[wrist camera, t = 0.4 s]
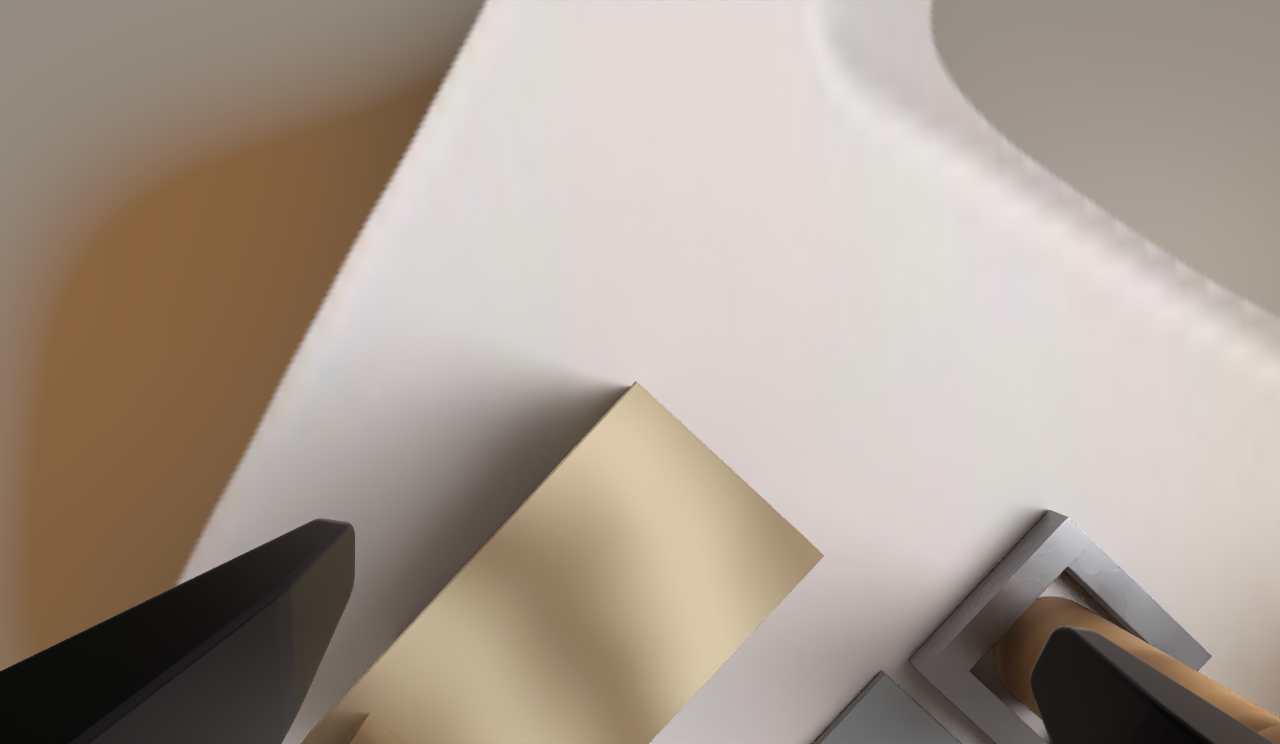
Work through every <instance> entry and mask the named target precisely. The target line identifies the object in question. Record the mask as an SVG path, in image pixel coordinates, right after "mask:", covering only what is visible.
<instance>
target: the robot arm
mask: <svg viewBox="0 0 1280 744" xmlns="http://www.w3.org/2000/svg"><path fill="white" fill-rule="evenodd" d="M354 576H355V532H354V528H353V526H352V525H351V524H350V523H348V522H343V521H336V520H329V519H316V520H313V521H311V522H309V523H307V524H305V525H303V526H300V527H298V528H296V529H294V530H292V531H290V532H288V533H286V534H284V535H282V536H280V537H278V538H276V539H274V540H271V541H269V542H267V543H265V544H263V545H261V546H259V547H257V548H255V549H253V550H251V551H249V552H247V553H245V554H242V555H240V556H238V557H236V558H234V559H232V560H230V561H228V562H226V563H224V564H222V565H220V566H218V567H216V568H213V569H211V570H209V571H207V572H205V573H203V574H201V575H199V576H197V577H195V578H193V579H191V580H189V581H187V582H184V583H182V584H180V585H178V586H176V587H174V588H172V589H170V590H168V591H166V592H164V593H162V594H160V595H158V596H155V597H153V598H151V599H149V600H147V601H145V602H143V603H141V604H139V605H137V606H135V607H133V608H131V609H129V610H126V611H124V612H122V613H120V614H118V615H116V616H114V617H112V618H110V619H108V620H106V621H104V622H102V623H100V624H97V625H96V626H93V627H91V628H89V629H87V630H85V631H83V632H81V633H79V634H77V635H75V636H73V637H71V638H68V639H66V640H64V641H62V642H60V643H58V644H56V645H54V646H52V647H50V648H48V649H46V650H44V651H42V652H39V653H38V654H35V655H33V656H31V657H29V658H27V659H25V660H23V661H21V662H19V663H17V664H15V665H12V666H11V667H8V668H6V669H4V670H2V671H0V744H281V743H282V741H283V740H284V738H285V736H286V734H287V732H288V731H289V729H290V727H291V725H292V723H293V721H294V719H295V718H296V716H297V713H298V711H299V709H300V707H301V705H302V703H303V701H304V699H305V697H306V694H307V692H308V690H309V688H310V685H311V683H312V681H313V679H314V676H315V674H316V672H317V670H318V667H319V665H320V663H321V661H322V658H323V656H324V654H325V652H326V649H327V647H328V645H329V643H330V640H331V638H332V636H333V634H334V631H335V629H336V627H337V625H338V623H339V620H340V618H341V616H342V614H343V611H344V609H345V607H346V605H347V602H348V600H349V598H350V595H351V592H352V589H353V584H354ZM1030 687H1031V692H1032V695H1033V697H1034V700H1035V703H1036V705H1037V708H1038V710H1039V713H1040V715H1041V718H1042V720H1043V723H1044V726H1045V728H1046V731H1047V733H1048V736H1049V738H1050V741H1051V744H1275V743H1273V742H1271V741H1270V740H1268V739H1267V738H1265V737H1263V736H1262V735H1260V734H1259V733H1257V732H1255V731H1254V730H1252V729H1251V728H1249V727H1247V726H1246V725H1244V724H1243V723H1241V722H1239V721H1238V720H1236V719H1235V718H1233V717H1231V716H1230V715H1228V714H1227V713H1225V712H1224V711H1222V710H1220V709H1219V708H1217V707H1216V706H1214V705H1212V704H1211V703H1209V702H1208V701H1206V700H1204V699H1203V698H1201V697H1200V696H1198V695H1196V694H1195V693H1193V692H1192V691H1190V690H1188V689H1187V688H1185V687H1184V686H1182V685H1180V684H1179V683H1177V682H1176V681H1174V680H1172V679H1171V678H1169V677H1168V676H1166V675H1164V674H1163V673H1161V672H1160V671H1158V670H1157V669H1155V668H1153V667H1152V666H1150V665H1149V664H1147V663H1145V662H1144V661H1142V660H1141V659H1139V658H1137V657H1136V656H1134V655H1133V654H1131V653H1129V652H1128V651H1126V650H1125V649H1123V648H1121V647H1120V646H1118V645H1117V644H1115V643H1113V642H1112V641H1110V640H1109V639H1107V638H1105V637H1104V636H1102V635H1101V634H1099V633H1097V632H1095V631H1093V630H1090V629H1085V628H1078V627H1071V626H1059V627H1057V628H1055V629H1054V630H1053V631H1052V632H1051V634H1050V635H1049V637H1048V639H1047V641H1046V643H1045V645H1044V647H1043V649H1042V651H1041V653H1040V655H1039V657H1038V658H1037V660H1036V662H1035V664H1034V666H1033V668H1032V671H1031V674H1030Z"/></svg>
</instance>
